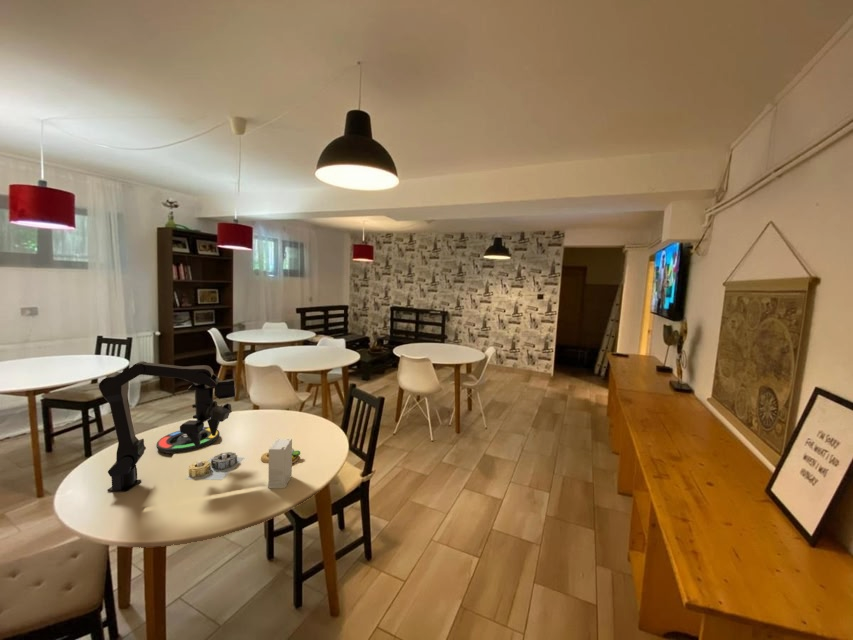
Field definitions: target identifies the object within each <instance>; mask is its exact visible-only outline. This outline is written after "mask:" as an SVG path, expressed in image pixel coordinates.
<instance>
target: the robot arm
mask: <svg viewBox="0 0 853 640" xmlns="http://www.w3.org/2000/svg"><path fill="white" fill-rule="evenodd" d="M141 375H143V376H153V377H161V378H171V379H181V380H184V381H187V382H190V383H192V384H191V385H190V386H189V387H188V388H187V391H194V404H192V406H191V407H192V408H193V409H195V414H194V415H193V416H192V419H196V420H191V419H190V420H187V421H185V422H184V423H181V425H180V426H179V431H180V432H183V433H186V434H187V436H188V437H189V438H190V439H191V440H192V442H193V443H194V444H195V446H196V447H199V446H200V438H201V432H202V431H203V430H204V429H203V427H205V422H207V425H208V427H209V428H210V431H211V434H212V436H215V435H216V432H217V430H218V428H219V425H220V423H221V422H224V421H225V420H226V419H229V416H230V414H231V413H233V411H232V404H230V403H225V404H224V405H218V402H217V400H214V398H216V399H218V400H223V399H230V398H231V399H233V398H236V397H237V386H236V385H237V384H236V379H235V378H234V379H233V378H232V379H226V380H221V379H219V377H218V376H217V375H216V374H215V373H214V370H213V368H212V367H211V366H210V365H207V364H206V365H204V364H202V365H189V366H181V365H173V364H163V363H162V364H161V363H154V362H147V361H143V360H142V361H141V360H140V361H138V362H136V363H135V364H132V366H130V367H129V368H127V369H126V370H124V371H122V372H114V373H112V374H110V375H108V376H107V377H105V378H103V379H102V380H100V382H99V383H98V389H99V391H100V393H101V395H102V397H103V398H104V399H105V400H106V401H107V403H108V405H109V408H110V412H111V416H112V422H113V425H114V430H115V434H116V437H117V438H116V439H117V443H118V444H117V450H116V455H115V456H116V459H115V460H116V461H115V462H114V464H112V466H111V467H110V468H109V469H108V470H107V473H108V475H109V476H110V477H111V487H109V488H108V489H107V492H121V493H122V492H128V491H129V490H131V489H133V488H134V487H135V486H137V485H138V484H139V483H141V482H142V479H138V468H137V463H139V461H140V460H141V458H142V457H143V455H144V454H145V450H146V449H147V447H146V446H145V439H144V438H140V439H139V438H138V437H137V436H136V434H135V429H134V425H133V420H132V416H131V411H130V406H129V402H128V393H129V389H130V388H129V387H130V386H129V384H130V383H129V382H131V381H132V380H133V379H135V378H137V377H139V376H141Z"/></svg>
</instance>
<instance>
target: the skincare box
mask: <svg viewBox="0 0 853 640" xmlns="http://www.w3.org/2000/svg"><path fill="white" fill-rule="evenodd" d="M292 448H293V438H276V439H275V440H274V441H273V443H272V444H271V446H270V447H269V449H268V452H269V463H268V480H267V481H268V489H286V487H287V485H288V484H289V481H290V480H291V478H292V475H293V474H292V473H293V470H292V469H293V466H292V465H293V464H292Z"/></svg>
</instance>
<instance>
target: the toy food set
mask: <svg viewBox="0 0 853 640" xmlns="http://www.w3.org/2000/svg"><path fill="white" fill-rule="evenodd" d="M300 456H301V451H300V450H295V449H294V448H293V447H292V465H293V464H295V463H296V461H298V460H299V457H300ZM260 461H261V462H263V463H265V464H266V463H267V464H269V451H267V452H265V453H262V455H261V457H260Z"/></svg>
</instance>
